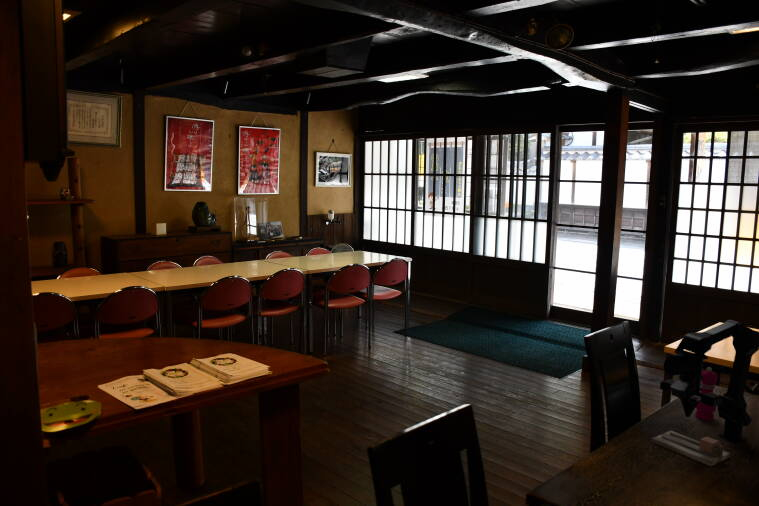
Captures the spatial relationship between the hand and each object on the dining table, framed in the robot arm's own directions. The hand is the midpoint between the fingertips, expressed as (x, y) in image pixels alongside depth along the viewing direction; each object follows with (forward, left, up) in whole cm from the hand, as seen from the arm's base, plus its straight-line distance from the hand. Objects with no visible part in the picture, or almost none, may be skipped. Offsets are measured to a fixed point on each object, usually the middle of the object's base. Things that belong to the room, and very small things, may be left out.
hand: (687, 416), depth 199 cm
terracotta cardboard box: (0, +8, -9) cm, 12 cm away
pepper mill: (-33, -10, -11) cm, 36 cm away
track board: (0, +2, -11) cm, 11 cm away
